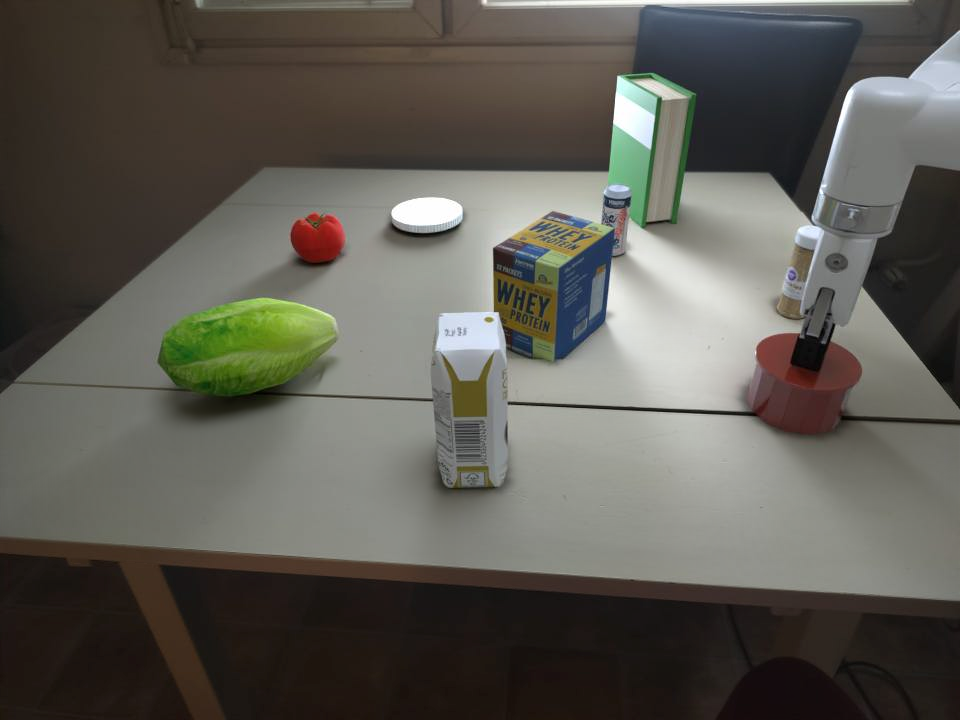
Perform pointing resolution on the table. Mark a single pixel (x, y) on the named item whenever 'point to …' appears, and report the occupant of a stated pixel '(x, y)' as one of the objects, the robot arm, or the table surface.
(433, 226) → the plastic lid
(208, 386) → the lettuce
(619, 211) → the beer can
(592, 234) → the protein box
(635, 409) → the table surface
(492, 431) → the juice carton
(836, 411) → the pot
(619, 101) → the hardback book
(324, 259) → the tomato
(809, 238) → the sprinkles bottle
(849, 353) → the lid
